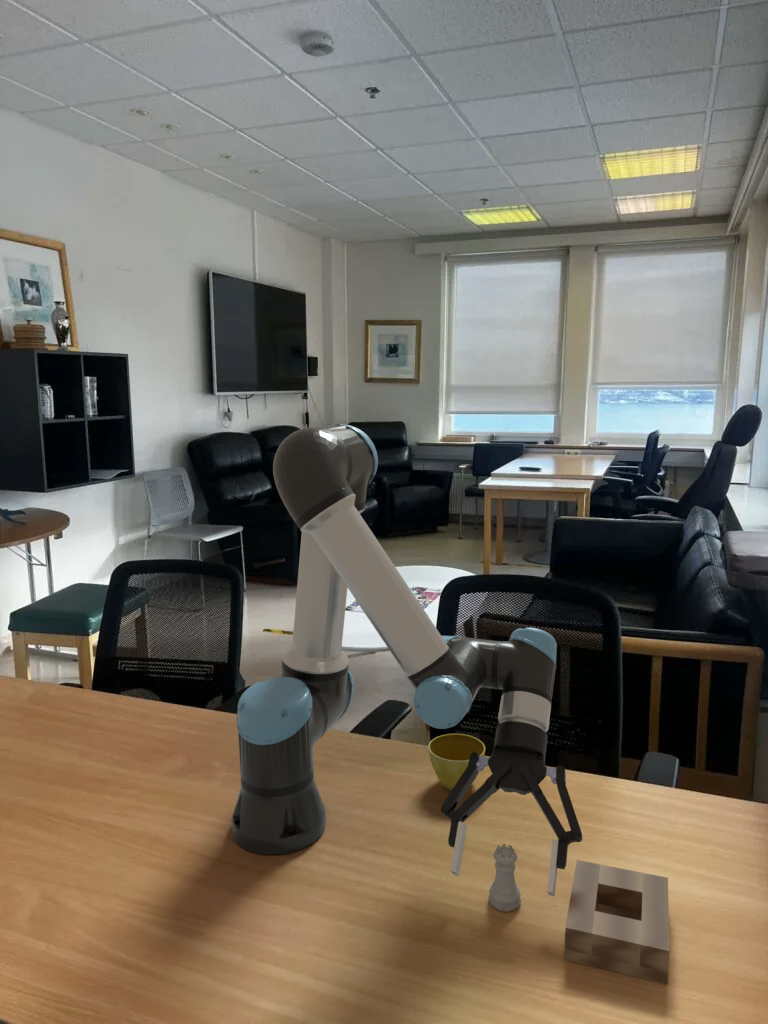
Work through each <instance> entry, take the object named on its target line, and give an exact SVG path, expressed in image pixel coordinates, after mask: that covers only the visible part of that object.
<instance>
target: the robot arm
mask: <svg viewBox="0 0 768 1024" xmlns="http://www.w3.org/2000/svg"><path fill="white" fill-rule="evenodd" d="M378 465H379V457H378V452H377V449H376V446H375V444H374V442H373V441H372V439H371V438H370V436H369V435H368V434H367V433H365V432H364V431H362V429H359V428H358V427H356V426H353V425H349V424H343V423H342V424H341V423H329V424H326V425H321V426H316V427H305V428H300V429H298V430H295V431H293V432H292V433H290V434H289V435H288V436H286V437H285V438H284V439H283V440H282V442H281V443H280V444H279V446H278V448H277V450H276V452H275V454H274V457H273V464H272V474H273V478H274V479H273V480H274V483H275V487H276V490H277V492H278V494H279V497H280V499H281V500H282V502H283V504H284V506H285V508H286V509H287V512H288V513H289V515H290V516H291V518H292V520H293V521H294V522H295V524H296V526H297V527H298V528H299V530H300V532H301V536H300V537H301V539H300V549H299V560H298V561H299V562H298V563H299V564H298V574H297V582H296V583H297V586H296V597H295V609H294V622H293V631H292V643H291V644H292V645H291V646H290V647H289V648H288V649H286V650H285V651H284V652H283V653H282V659H281V668H280V669H281V671H280V676H276V677H270V678H267V679H266V680H265V681H262V680H260V681H258V682H256V683H254V684H252V685H250V687H248V688H247V689H245V690H244V692H243V693H242V694H241V696H240V697H239V700H238V704H237V715H236V728H237V739H238V752H239V756H238V757H239V769H240V771H239V772H240V787H239V790H238V791H239V793H238V796H237V799H236V803H235V806H234V809H233V813H232V816H231V833H232V837H233V839H234V842H236V843H237V845H239V846H240V847H241V848H243V849H244V850H246V851H249V852H252V853H255V854H260V855H268V856H269V855H271V856H272V855H273V856H274V855H282V854H283V855H284V854H289V853H294V852H296V851H300V850H302V849H304V848H306V847H308V846H310V845H312V844H313V843H315V842H316V841H317V840H319V838H320V837H321V836H322V834H324V832H325V830H326V826H327V814H326V806H325V805H324V802H323V799H322V796H321V794H320V790H319V789H318V786H317V783H316V781H315V778H314V777H315V776H314V775H315V774H314V747H315V745H316V744H317V743H318V742H319V740H320V739H321V738H322V737H323V736H324V735H325V734H326V733H327V732H329V730H330V729H331V728H332V727H333V726H334V725H335V724H336V723H337V722H338V721H339V720H341V718H343V716H344V715H345V713H346V712H347V711H348V708H349V707H350V705H351V703H352V700H353V698H354V693H355V682H354V677H353V674H352V671H350V670H349V664H350V662H349V661H350V660H349V657H348V655H347V654H346V653H345V651H343V650H342V646H343V637H344V627H345V616H346V606H347V598H348V597H347V596H348V590H349V592H350V593H351V595H352V597H353V598H354V599H355V601H356V602H357V604H358V606H360V608H361V610H362V611H363V613H364V614H365V616H366V617H367V619H368V620H369V622H370V623H371V624H372V626H373V628H374V629H375V630H376V632H377V634H378V635H379V636H380V638H381V640H382V641H383V643H384V644H385V645H386V647H387V648H388V650H389V652H390V653H391V655H392V656H393V657H394V659H395V660H396V662H397V663H398V664H399V666H400V668H401V670H402V671H403V672H404V674H405V675H406V678H407V679H408V680H409V682H410V683H411V685H412V686H413V689H414V690H415V692H414V697H413V705H414V709H415V712H416V714H417V716H418V717H419V718H420V720H421V721H422V722H424V723H425V724H426V725H427V726H430V727H432V728H434V729H440V730H442V729H443V730H445V729H450V728H453V727H456V726H457V724H459V723H460V722H461V721H462V719H463V718H464V717H465V716H466V715H467V713H469V712H470V709H471V708H472V703H473V702H474V701H475V700H474V699H475V698H476V696H477V694H478V693H479V691H480V689H481V688H484V689H493V690H502V692H501V698H500V704H499V711H498V717H497V721H498V723H499V724H498V725H497V726H496V731H495V738H494V745H493V750H492V754H491V755H490V756H489V757H487V756H484V757H483V756H479V755H478V754H477V753H476V752H472V753H471V755H470V759H469V763H468V766H467V768H466V769H465V771H464V773H463V774H462V776H461V777H460V779H459V780H458V782H457V783H456V785H455V786H454V788H453V789H452V790H450V793H449V794H448V795H447V797H446V798H445V800H444V802H443V803H442V804H441V806H440V812H441V814H442V815H443V816H444V817H445V818H447V819H448V820H450V826H449V827H450V828H449V832H448V839H447V842H448V846H450V848H453V853H452V859H451V864H450V870H449V871H450V872H451V873H452V875H453V876H457V877H459V876H460V872H461V866H462V862H463V861H462V859H463V854H464V849H465V842H466V837H467V829H468V827H467V825H466V823H465V821H466V820H467V819H468V818H469V817H470V816H472V814H473V813H474V812H475V811H476V810H478V808H479V807H481V806H482V805H483V804H484V803H485V802H486V801H487V800H488V799H489V798H490V797H491V796H492V795H494V794H496V793H497V792H498V791H499V790H500V789H501V790H502V791H503V792H504V793H516V794H519V795H520V796H521V795H522V796H527V795H528V794H530V793H531V794H532V796H533V798H534V800H535V801H536V803H537V804H538V807H539V809H540V810H541V811H542V813H543V815H544V817H545V818H546V820H547V822H548V823H549V826H550V827H551V829H552V831H553V832H554V833H555V836H556V837H557V839H556V838H555V839H554V838H552V842H551V849H550V862H549V869H548V871H549V872H548V879H547V880H548V881H547V890H546V891H547V894H548V896H551V897H555V894H556V887H557V885H556V883H557V877H558V869H559V870H565V869H566V867H567V860H568V859H567V858H568V848H569V846H570V845H571V844H573V843H581V842H582V841H583V833H582V830H581V827H580V824H579V820H578V817H577V815H576V812H575V808H574V806H573V802H572V800H571V797H570V794H569V793H570V792H569V791H568V788H567V784H566V783H567V774H566V768H565V766H564V765H558V766H557V767H551V766H547V765H546V753H547V744H548V734H547V732H548V731H549V727H550V716H551V710H552V698H553V692H554V684H555V678H556V677H555V675H556V670H557V649H558V644H557V642H556V639H555V637H554V636H553V635H552V634H550V633H549V632H547V631H545V630H543V629H539V628H536V627H525V628H521V627H520V628H517V629H515V630H514V631H512V633H511V634H510V638H508V641H504V640H502V641H501V640H498V641H497V640H493V639H483V638H482V639H481V638H472V637H465V636H461V635H441V633H440V632H439V630H438V628H437V627H436V626H435V624H434V622H433V621H432V620H431V618H430V617H429V615H428V613H426V611H425V609H424V608H423V606H422V605H421V603H420V602H419V600H418V599H417V597H416V596H415V594H414V593H413V591H412V590H411V588H410V587H409V585H408V583H407V582H406V580H405V579H404V578H403V577H402V575H401V573H400V572H399V570H398V569H397V568H396V566H395V564H394V563H393V562H392V560H391V558H390V557H389V556H388V554H387V552H386V551H385V549H384V548H383V546H382V545H381V543H380V542H379V541H378V539H377V537H376V535H375V534H374V533H373V531H372V530H371V529H370V527H369V526H368V524H367V522H366V521H365V519H364V518H363V517H362V515H361V513H363V512H364V511H365V509H366V508H365V505H366V500H367V490H368V486H369V485H370V484H371V482H372V481H373V479H374V478H375V476H376V473H377V470H378ZM486 767H489V770H490V772H491V773H492V774H491V775H490V776H489V777H487V778H486V780H485V781H484V782H483V784H482V785H481V786H480V787H479V788H477V790H475V791H474V792H473V793H472V794H471V795H470V796H469V797H468V798H467V799H466V800H465V801H464V802H463V803H462V804H460V802H461V801H462V800H463V798H464V796H465V795H466V794H467V792H468V790H469V789H470V787H471V786H472V785H473V783H474V782H473V781H476V779H477V777H478V775H479V773H480V772H482V771H484V769H485V768H486ZM478 771H479V773H478ZM477 774H478V775H477ZM476 776H477V777H476ZM546 777H549V778H550V780H551V783H552V784H554V785H556V787H557V791H558V795H559V797H560V801H561V805H562V807H563V810H564V813H565V814H564V815H565V816H566V819H567V823H568V826H569V828H570V829H569V830H567V831H566V830H565V828H564V827H563V824H562V823H561V822H560V820H559V817H558V816H557V814H556V813H555V811H554V809H553V808H552V806H551V804H550V802H549V801H548V799H547V797H546V796H545V794H544V792H543V791H542V789H541V787H540V784H541V783H542V781H543V780H544V779H545V778H546ZM475 778H476V779H475ZM459 804H460V806H458V805H459ZM457 807H458V808H457Z"/></svg>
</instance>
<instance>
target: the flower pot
mask: <svg viewBox="0 0 768 1024" xmlns="http://www.w3.org/2000/svg"><path fill="white" fill-rule="evenodd" d="M427 747H428V748H427V749H428V755H429V759H430V763H431V765H432V768H433V771H434V773H435V775H436V776H437V778H438V780H439V781H440V784H441V785H442V786H443V787H444V788H445V789H447V790H450V791H452V789H453V788H454V786H455V785H456V783H457V782H458V780H459V779H460V777H461V776H462V774H463V773H464V771H465V769H466V768H467V766H468V763H469V759H470V755H471V753H472V752H476V753H477V754H478V755H479V756H483V757H485V754H486V746H485V743H484V742H483V741H481V740H480V739H479V738H477V737H474V736H473V735H468V734H464V733H463V734H462V733H447V734H441V735H439V736H436V737H434V738H433V739H431V740H430V742H429V743H428V745H427ZM479 773H480V772H479V771H478V774H477V776H476V778H475V780H476V779H477V777H478V775H479ZM475 780H474V781H475ZM474 781H473V783H474Z"/></svg>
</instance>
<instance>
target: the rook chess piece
mask: <svg viewBox="0 0 768 1024" xmlns="http://www.w3.org/2000/svg"><path fill="white" fill-rule="evenodd" d="M515 851H516V850H515V848H513V845H511V844H509V845H508V847H507V845H506V844H505V843H504V844H501V845H500V844H498V845H497V846H496V848H495V851H494V852H493V855H492V856H493V859H494V860H495V861H496V862H495V863H494V868H495V876H494V881H493V882H492V883H491V885H490V888H489V890H488V893H489V894H488V901H489V904H490V905H492V907H493V908H494V909H495V910H497V911H499V912H504V913H505V912H506V913H508V912H509V913H510V912H512V911H515V910H516V909H517V908H518V907H520V905H521V903H522V899H521V896H522V895H521V892H520V888H519V887H518V884H517V882H516V879H515V869H516V864H515V862H516V861H517V860H518V854H517V853H516V852H515Z"/></svg>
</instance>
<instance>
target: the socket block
mask: <svg viewBox="0 0 768 1024" xmlns="http://www.w3.org/2000/svg"><path fill="white" fill-rule="evenodd" d="M572 880H573V881H572V886H571V892H570V898H569V905H568V909H567V916H566V920H565V921H566V922H565V929H564V930H565V931H564V932H565V933H564V956H563V957H564V958H563V959H564V961H569V962H572V963H577V964H580V965H583V966H584V965H585V966H589V967H594V968H597V969H601V970H605V971H610V972H613V973H618V974H622V975H626V976H630V977H633V978H634V977H635V978H639V979H643V980H648V981H651V982H655V983H660V984H663V985H668V983H669V982H668V981H669V968H670V967H669V966H670V965H669V964H670V925H669V924H670V914H669V913H670V912H669V911H670V909H669V878H668V877H667V876H666V877H665V876H661V875H655V874H650V873H645V872H641V871H636V870H630V869H625V868H620V867H616V866H615V867H614V866H610V865H605V864H601V863H600V864H599V863H596V862H591V861H584V860H580V859H576V863H575V869H574V874H573V879H572Z"/></svg>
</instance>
